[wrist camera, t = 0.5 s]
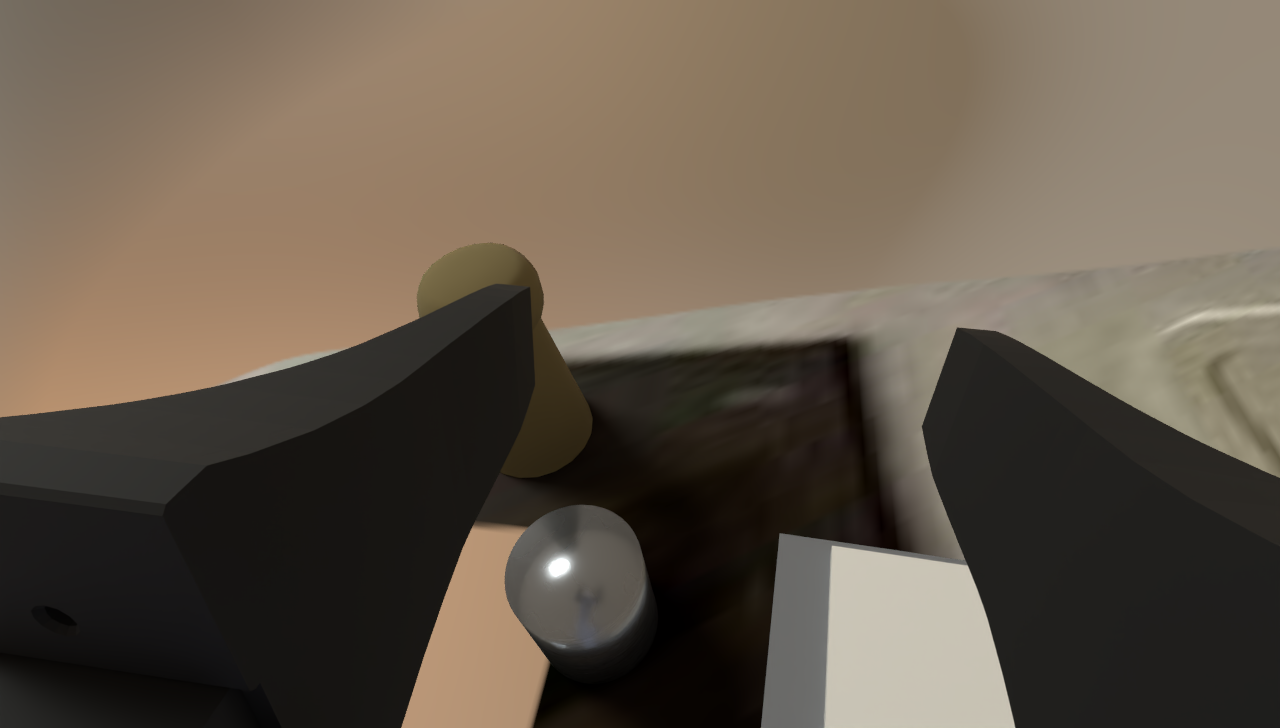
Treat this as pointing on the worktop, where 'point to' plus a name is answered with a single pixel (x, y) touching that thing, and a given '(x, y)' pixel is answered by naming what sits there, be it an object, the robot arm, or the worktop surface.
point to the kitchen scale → (878, 642)
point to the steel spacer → (583, 592)
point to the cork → (557, 401)
